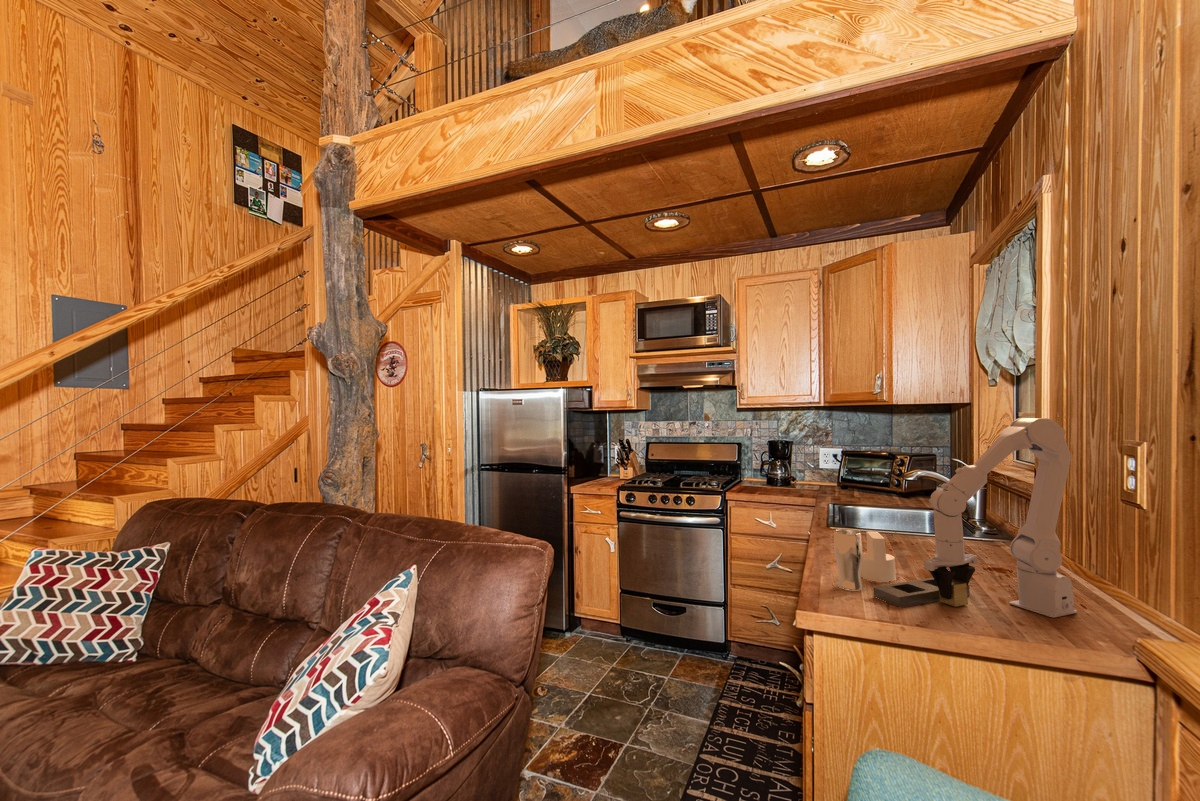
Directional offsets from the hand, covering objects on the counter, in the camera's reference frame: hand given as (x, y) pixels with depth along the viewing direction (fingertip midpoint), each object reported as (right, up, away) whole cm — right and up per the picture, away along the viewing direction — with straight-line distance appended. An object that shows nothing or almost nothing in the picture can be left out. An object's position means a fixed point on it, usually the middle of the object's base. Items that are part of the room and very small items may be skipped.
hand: (953, 596), depth 126 cm
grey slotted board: (-4, -2, +6) cm, 8 cm away
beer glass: (-18, -3, +14) cm, 23 cm away
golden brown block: (0, -1, 0) cm, 1 cm away
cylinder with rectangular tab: (-6, -3, +22) cm, 23 cm away
